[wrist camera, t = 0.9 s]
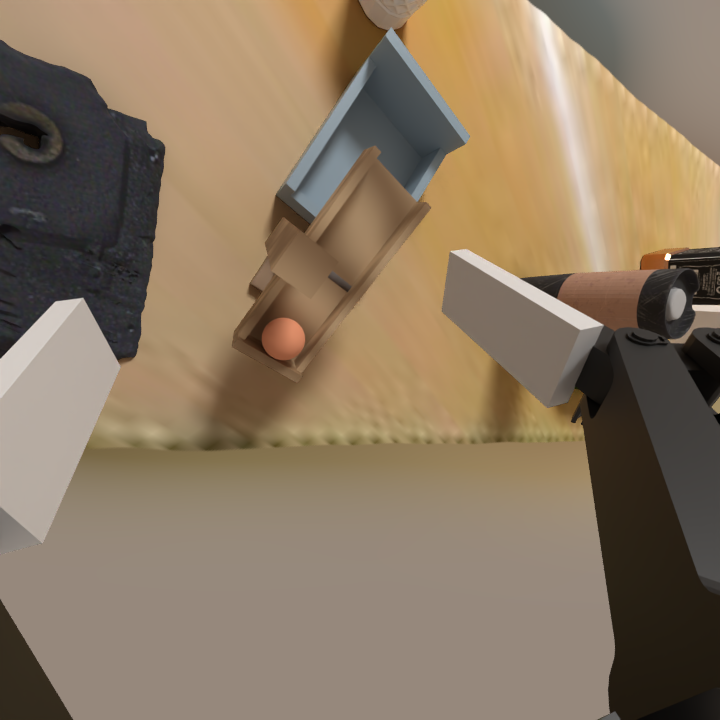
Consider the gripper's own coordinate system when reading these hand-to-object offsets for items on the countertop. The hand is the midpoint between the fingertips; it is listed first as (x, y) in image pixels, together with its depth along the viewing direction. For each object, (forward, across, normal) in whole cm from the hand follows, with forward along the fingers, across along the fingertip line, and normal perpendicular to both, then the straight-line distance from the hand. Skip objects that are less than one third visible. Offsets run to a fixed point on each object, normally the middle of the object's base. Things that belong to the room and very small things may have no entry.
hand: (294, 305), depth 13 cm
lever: (+15, +4, -5) cm, 17 cm away
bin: (+29, +12, 0) cm, 31 cm away
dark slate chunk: (+23, -17, -1) cm, 29 cm away
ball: (+12, 0, -9) cm, 15 cm away
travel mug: (+27, +37, -18) cm, 49 cm away
